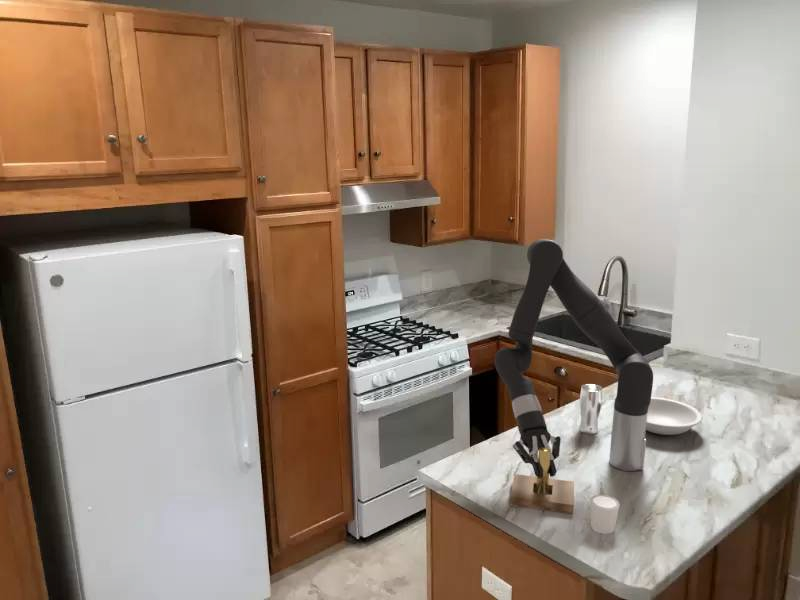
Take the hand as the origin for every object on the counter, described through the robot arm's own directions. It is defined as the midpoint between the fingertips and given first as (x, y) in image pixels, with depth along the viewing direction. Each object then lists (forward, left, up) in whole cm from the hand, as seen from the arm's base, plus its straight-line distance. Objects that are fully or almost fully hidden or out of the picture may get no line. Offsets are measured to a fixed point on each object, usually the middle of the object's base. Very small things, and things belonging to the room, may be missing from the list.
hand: (547, 476), depth 166 cm
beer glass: (-12, -48, -7) cm, 50 cm away
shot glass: (-14, +8, -7) cm, 18 cm away
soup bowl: (-35, -55, -8) cm, 65 cm away
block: (+1, -2, -7) cm, 7 cm away
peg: (+1, -2, -5) cm, 6 cm away
